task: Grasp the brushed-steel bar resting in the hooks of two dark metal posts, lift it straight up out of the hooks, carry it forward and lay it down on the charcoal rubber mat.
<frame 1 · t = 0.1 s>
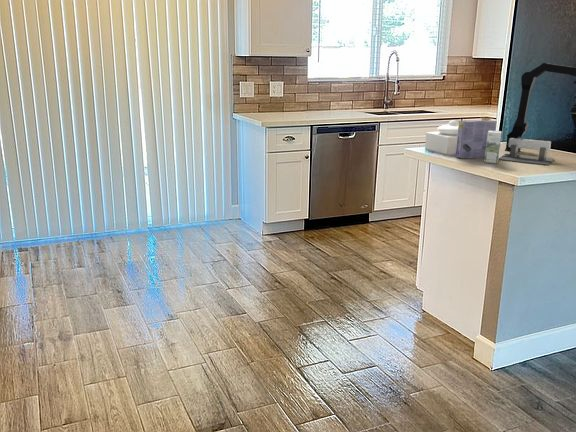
hook posts: (527, 158, 265), on the countertop
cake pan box: (474, 157, 268), on the countertop
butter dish: (448, 151, 285), on the countertop
mat: (523, 161, 258), on the countertop
syrup box: (491, 162, 255), on the countertop
steel bar: (528, 148, 264), point 5 cm above the countertop, touching hook posts
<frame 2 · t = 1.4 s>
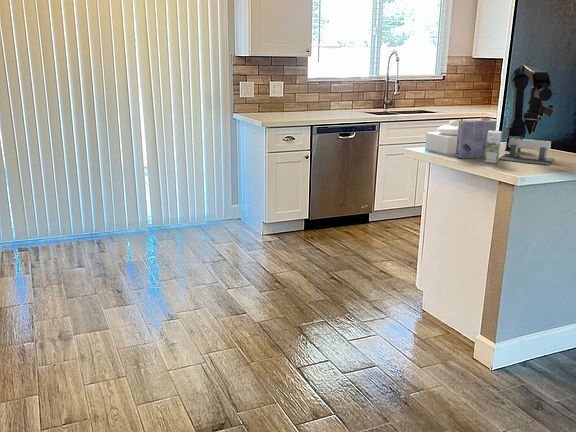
hand: (531, 132, 262), 12 cm above the countertop, tool pointing down, fingers open, 9 cm apart
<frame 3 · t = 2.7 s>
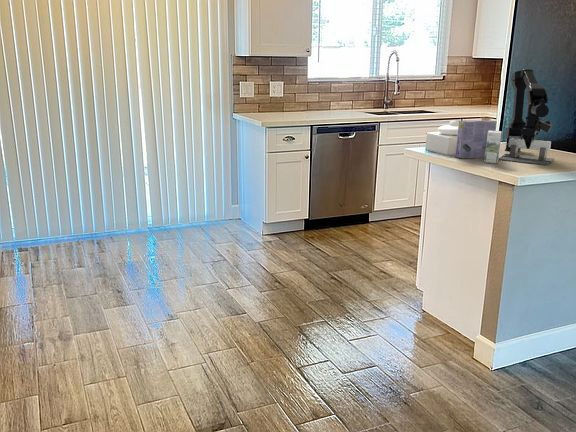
hand: (528, 148, 264), 5 cm above the countertop, tool pointing down, fingers closed on steel bar, 4 cm apart
steel bar: (528, 148, 264), point 5 cm above the countertop, touching gripper, hook posts
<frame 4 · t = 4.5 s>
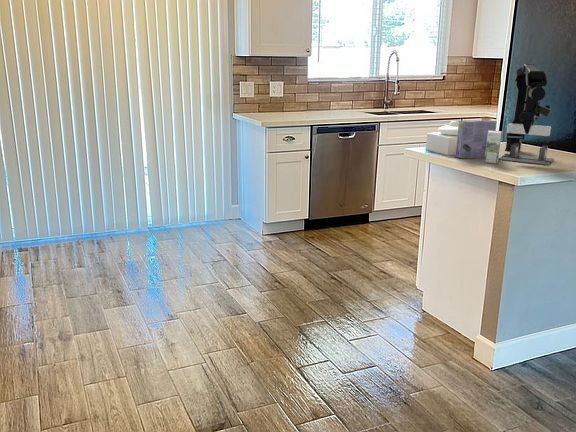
hand: (527, 133, 255), 13 cm above the countertop, tool pointing down, fingers closed on steel bar, 4 cm apart
steel bar: (527, 133, 255), point 13 cm above the countertop, touching gripper
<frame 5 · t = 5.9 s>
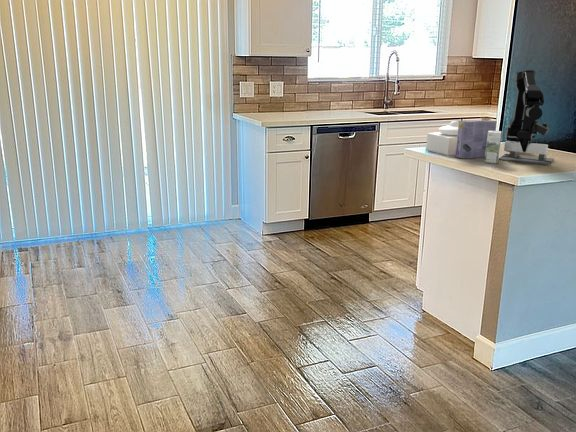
hand: (525, 151, 257), 5 cm above the countertop, tool pointing down, fingers closed on steel bar, 4 cm apart
steel bar: (525, 151, 257), point 5 cm above the countertop, touching gripper
when the fingers open (3 cm above the countertop, at t = 6.6 s): steel bar drops 2 cm, resting on mat.
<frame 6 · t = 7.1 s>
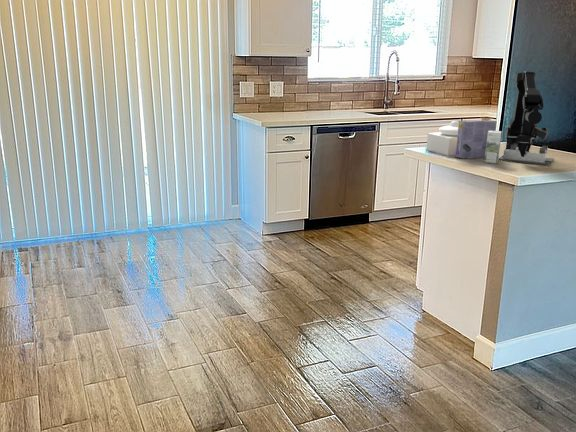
hand: (524, 155, 257), 3 cm above the countertop, tool pointing down, fingers open, 9 cm apart
steel bar: (524, 160, 258), point 1 cm above the countertop, touching mat
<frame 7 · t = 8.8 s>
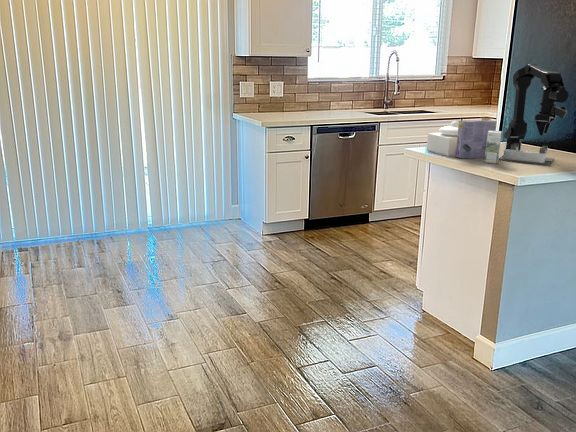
hand: (543, 134, 259), 12 cm above the countertop, tool pointing down, fingers open, 9 cm apart
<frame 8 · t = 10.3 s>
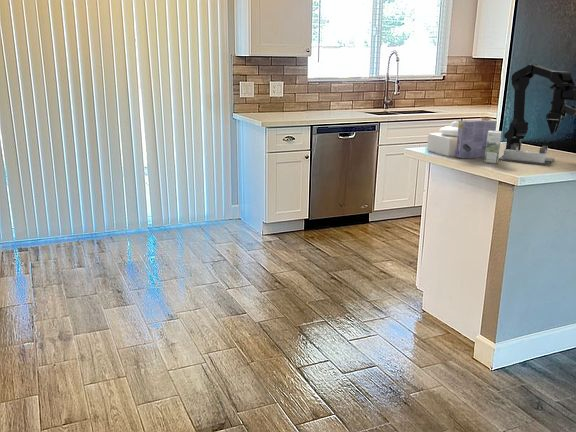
hand: (553, 132, 262), 13 cm above the countertop, tool pointing down, fingers open, 9 cm apart
at the end: steel bar inside the target area (0.4 cm from its centre), point 0.6 cm above the countertop; steel bar touching mat; the gripper is holding nothing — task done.
